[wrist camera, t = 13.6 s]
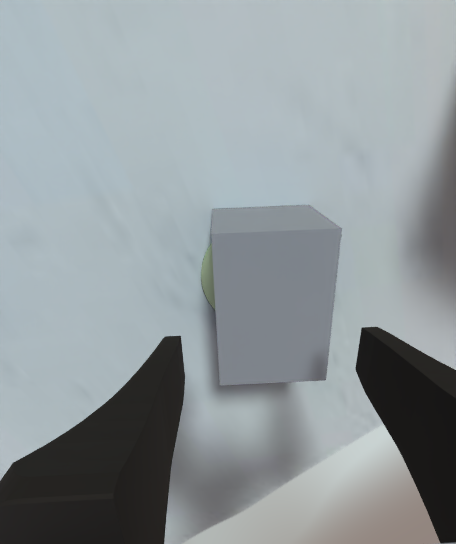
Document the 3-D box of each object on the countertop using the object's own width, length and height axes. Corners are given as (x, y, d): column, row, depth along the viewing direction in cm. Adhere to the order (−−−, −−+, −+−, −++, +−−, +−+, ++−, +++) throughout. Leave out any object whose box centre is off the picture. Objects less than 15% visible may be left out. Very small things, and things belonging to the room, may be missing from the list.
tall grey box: (301, 326, 23) (325, 380, 18) (219, 330, 23) (219, 385, 18) (309, 204, 20) (341, 228, 15) (212, 208, 20) (211, 233, 15)
